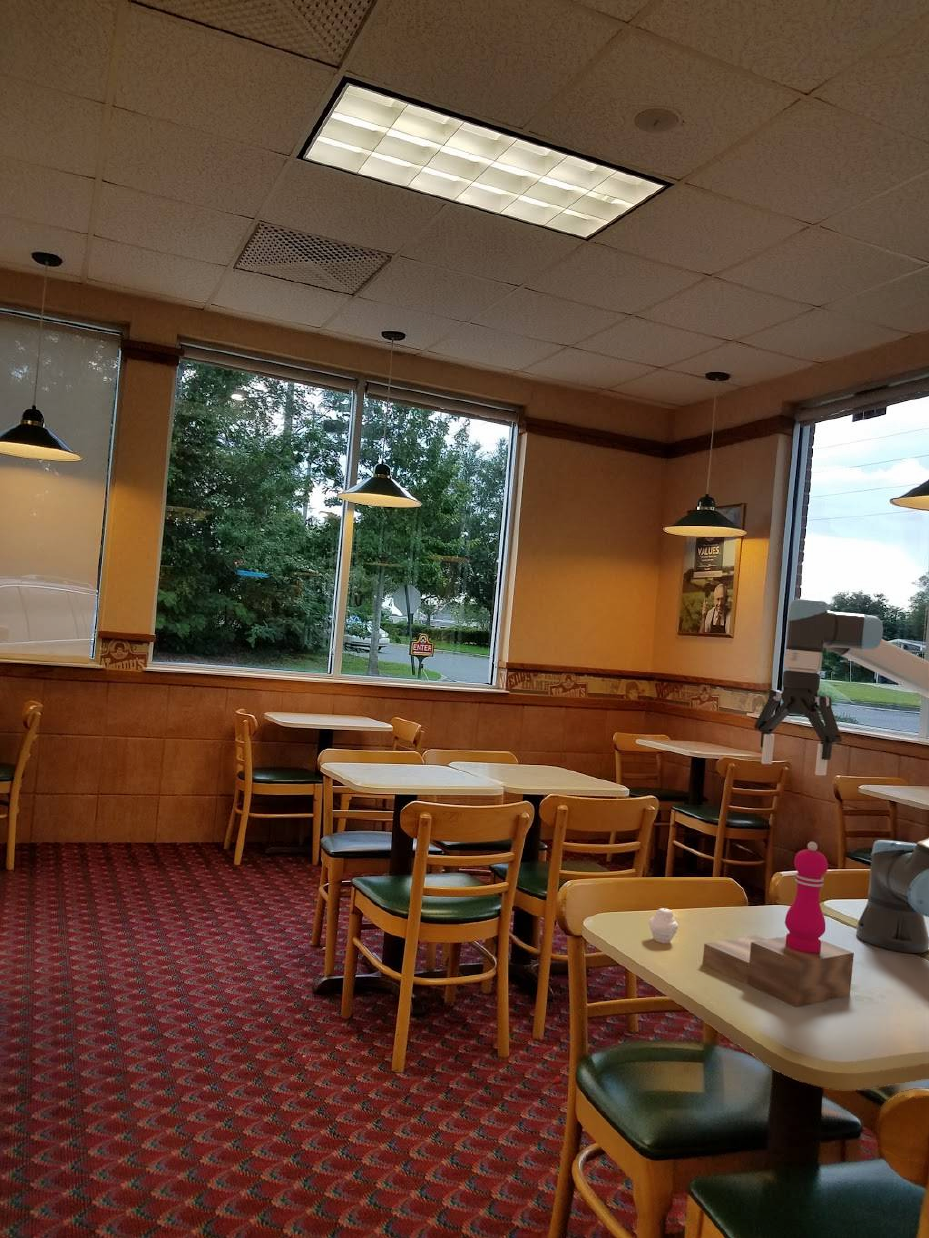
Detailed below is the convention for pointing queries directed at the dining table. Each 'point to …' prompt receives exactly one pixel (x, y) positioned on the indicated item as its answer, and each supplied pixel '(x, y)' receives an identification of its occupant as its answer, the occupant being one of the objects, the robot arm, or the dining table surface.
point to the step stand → (784, 968)
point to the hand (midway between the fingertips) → (792, 769)
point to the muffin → (663, 925)
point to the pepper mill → (807, 902)
